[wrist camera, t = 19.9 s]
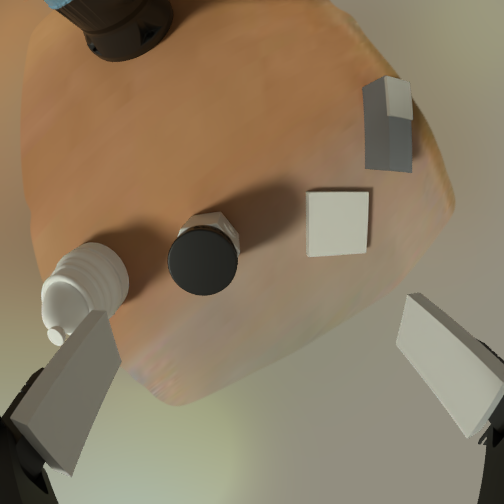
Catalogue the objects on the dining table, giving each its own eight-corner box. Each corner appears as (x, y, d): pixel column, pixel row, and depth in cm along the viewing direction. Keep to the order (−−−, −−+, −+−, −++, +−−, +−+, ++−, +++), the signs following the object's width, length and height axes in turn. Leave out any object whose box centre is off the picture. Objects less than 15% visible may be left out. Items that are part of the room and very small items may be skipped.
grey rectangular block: (361, 87, 37) (386, 74, 29) (382, 91, 38) (409, 80, 29) (364, 168, 41) (391, 170, 33) (385, 170, 42) (414, 173, 34)
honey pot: (139, 263, 44) (92, 317, 26) (118, 321, 47) (79, 384, 29) (77, 229, 41) (12, 264, 24) (63, 289, 44) (10, 338, 27)
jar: (248, 244, 44) (254, 272, 32) (208, 274, 45) (200, 310, 33) (212, 198, 41) (204, 210, 30) (172, 231, 43) (151, 255, 31)
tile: (308, 192, 40) (308, 257, 43) (368, 192, 41) (366, 252, 44) (305, 191, 42) (305, 253, 45) (362, 190, 43) (360, 249, 46)
